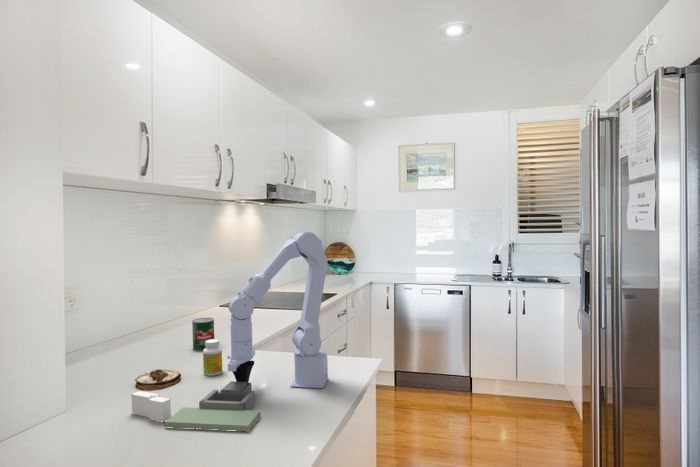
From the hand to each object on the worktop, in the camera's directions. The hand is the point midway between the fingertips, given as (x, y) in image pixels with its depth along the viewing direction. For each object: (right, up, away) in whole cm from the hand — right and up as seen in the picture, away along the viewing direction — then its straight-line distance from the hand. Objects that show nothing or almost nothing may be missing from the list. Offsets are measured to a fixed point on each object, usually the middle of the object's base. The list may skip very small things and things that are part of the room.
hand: (242, 388), depth 122 cm
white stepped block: (-19, -3, -14) cm, 24 cm away
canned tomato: (-26, -1, +45) cm, 52 cm away
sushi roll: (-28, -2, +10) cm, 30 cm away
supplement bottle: (-14, -1, +17) cm, 22 cm away
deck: (-2, -2, -14) cm, 14 cm away
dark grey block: (-1, -1, -5) cm, 5 cm away
